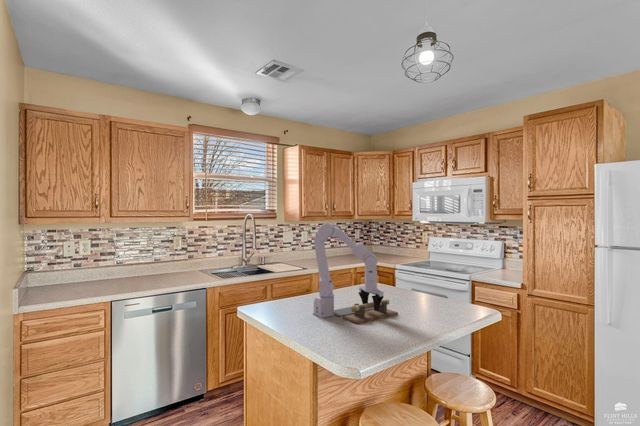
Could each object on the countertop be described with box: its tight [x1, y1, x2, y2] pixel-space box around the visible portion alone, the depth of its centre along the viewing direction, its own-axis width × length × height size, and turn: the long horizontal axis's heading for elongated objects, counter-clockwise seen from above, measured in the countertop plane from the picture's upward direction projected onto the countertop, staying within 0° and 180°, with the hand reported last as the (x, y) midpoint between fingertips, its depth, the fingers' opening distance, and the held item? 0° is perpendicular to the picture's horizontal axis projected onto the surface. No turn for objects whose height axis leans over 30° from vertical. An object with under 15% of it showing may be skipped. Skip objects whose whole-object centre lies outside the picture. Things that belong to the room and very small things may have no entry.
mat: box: [334, 306, 374, 318], centre depth 170 cm, size 26×9×1 cm, turn 124°
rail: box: [350, 299, 390, 312], centre depth 161 cm, size 22×2×2 cm, turn 124°
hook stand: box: [342, 301, 399, 325], centre depth 161 cm, size 26×10×6 cm, turn 124°
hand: (370, 308), depth 161 cm, fingers open, 7 cm apart
